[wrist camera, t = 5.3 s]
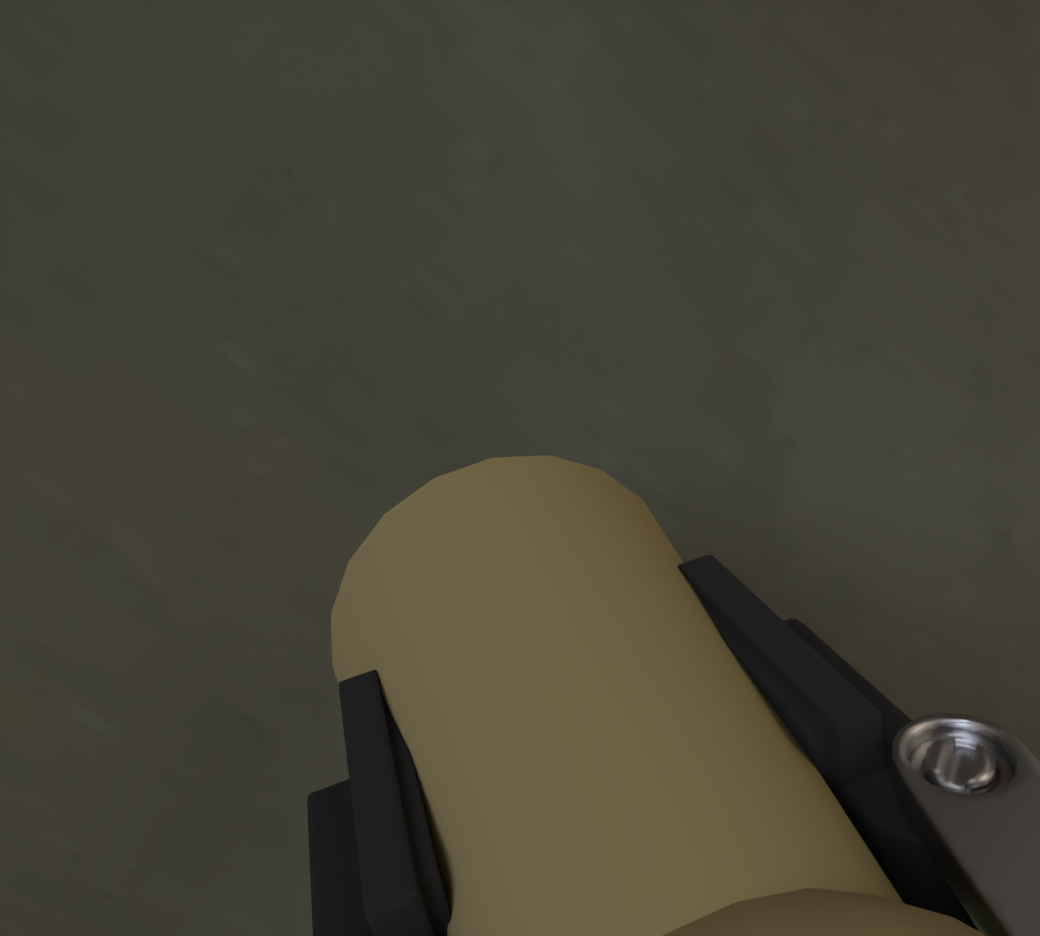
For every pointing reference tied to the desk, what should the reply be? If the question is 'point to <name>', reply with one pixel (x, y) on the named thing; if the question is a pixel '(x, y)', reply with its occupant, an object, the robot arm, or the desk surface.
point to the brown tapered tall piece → (592, 724)
